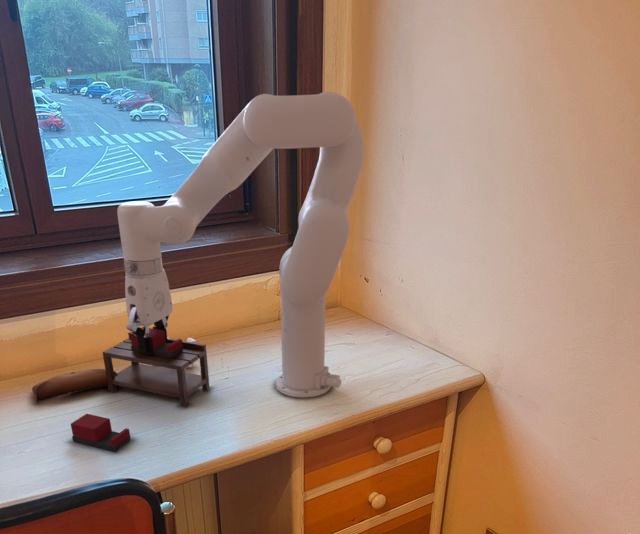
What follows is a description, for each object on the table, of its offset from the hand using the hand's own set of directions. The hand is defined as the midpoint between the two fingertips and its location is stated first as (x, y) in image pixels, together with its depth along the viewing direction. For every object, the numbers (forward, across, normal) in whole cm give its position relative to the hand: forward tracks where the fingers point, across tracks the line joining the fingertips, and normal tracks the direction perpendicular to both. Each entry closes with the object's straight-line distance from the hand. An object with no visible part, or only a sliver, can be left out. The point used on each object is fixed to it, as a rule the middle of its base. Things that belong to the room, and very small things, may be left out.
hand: (153, 348), depth 139 cm
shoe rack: (+10, 0, 0) cm, 10 cm away
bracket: (+10, +15, +7) cm, 19 cm away
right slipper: (0, 0, -1) cm, 1 cm away
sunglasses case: (+10, -7, +17) cm, 21 cm away
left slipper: (+10, -23, -3) cm, 26 cm away
